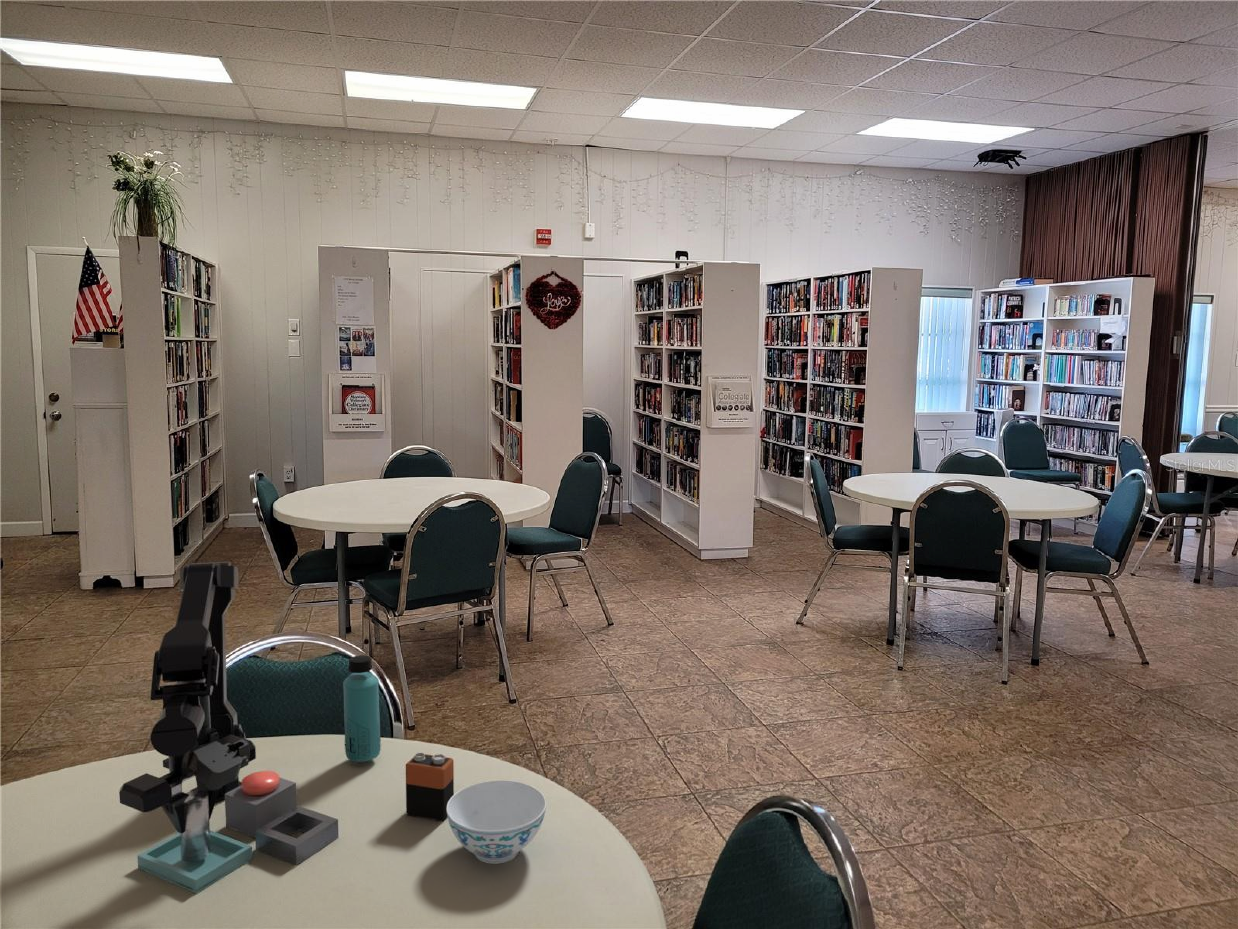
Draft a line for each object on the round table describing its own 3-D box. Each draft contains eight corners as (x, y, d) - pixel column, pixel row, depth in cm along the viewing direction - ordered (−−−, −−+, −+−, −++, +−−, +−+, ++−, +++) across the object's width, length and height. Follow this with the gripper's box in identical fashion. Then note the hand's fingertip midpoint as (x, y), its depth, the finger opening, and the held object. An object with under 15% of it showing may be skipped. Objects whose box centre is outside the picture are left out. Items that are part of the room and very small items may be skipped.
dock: (226, 826, 142) (224, 794, 142) (266, 803, 149) (265, 772, 149) (257, 838, 139) (255, 805, 138) (297, 814, 146) (296, 782, 145)
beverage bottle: (388, 757, 167) (386, 653, 164) (367, 773, 160) (365, 666, 158) (358, 751, 169) (356, 649, 166) (336, 766, 163) (333, 661, 160)
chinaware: (520, 890, 128) (521, 839, 126) (428, 868, 132) (427, 819, 131) (560, 835, 142) (561, 789, 141) (475, 817, 146) (475, 773, 145)
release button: (234, 805, 143) (233, 782, 142) (262, 789, 148) (262, 768, 147) (259, 814, 140) (258, 791, 140) (287, 798, 145) (286, 776, 144)
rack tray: (138, 868, 131) (137, 855, 131) (195, 836, 139) (194, 824, 139) (196, 893, 125) (195, 880, 125) (252, 858, 134) (252, 846, 133)
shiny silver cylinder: (174, 857, 131) (171, 800, 130) (198, 843, 135) (195, 787, 133) (193, 865, 130) (190, 807, 128) (216, 851, 133) (214, 794, 132)
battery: (443, 822, 145) (442, 764, 143) (405, 816, 146) (404, 758, 145) (454, 809, 149) (454, 752, 147) (417, 803, 151) (417, 746, 149)
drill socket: (255, 849, 136) (255, 831, 136) (298, 823, 144) (298, 805, 143) (296, 865, 132) (295, 846, 132) (338, 837, 140) (338, 819, 139)
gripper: (167, 764, 117) (173, 874, 120) (280, 713, 134) (283, 810, 136) (113, 745, 122) (120, 851, 125) (228, 698, 139) (232, 792, 141)
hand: (194, 825), depth 132 cm, fingers closed on shiny silver cylinder, 4 cm apart
